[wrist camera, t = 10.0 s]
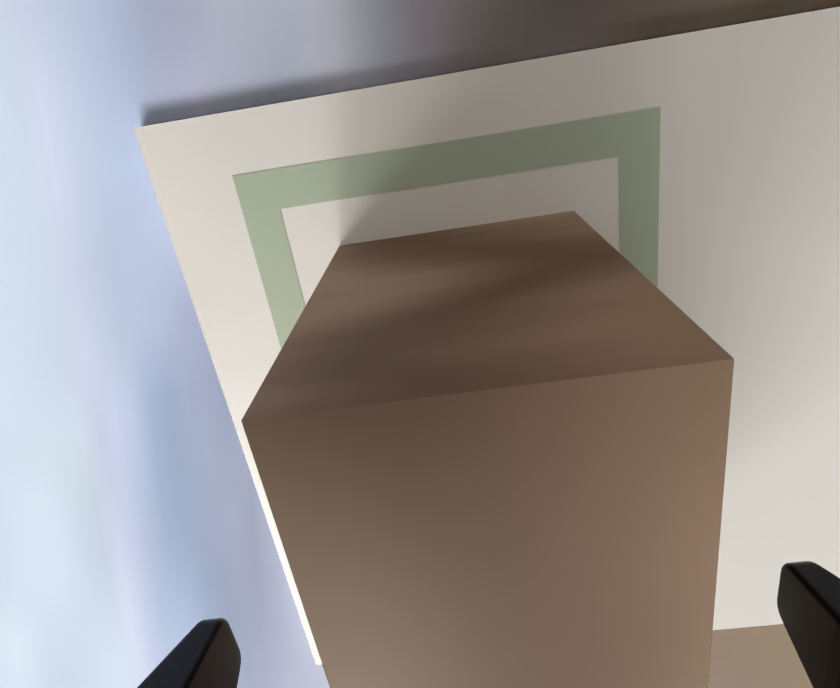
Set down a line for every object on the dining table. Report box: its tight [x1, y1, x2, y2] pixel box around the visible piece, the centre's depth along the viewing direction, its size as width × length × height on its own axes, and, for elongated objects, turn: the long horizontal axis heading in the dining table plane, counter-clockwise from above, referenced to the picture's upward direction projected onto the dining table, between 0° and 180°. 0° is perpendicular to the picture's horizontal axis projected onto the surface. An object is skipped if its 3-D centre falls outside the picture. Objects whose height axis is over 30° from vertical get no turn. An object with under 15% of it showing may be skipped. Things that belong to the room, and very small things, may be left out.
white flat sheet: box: [134, 7, 840, 665], centre depth 14 cm, size 24×16×1 cm, turn 99°
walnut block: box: [241, 211, 734, 688], centre depth 11 cm, size 5×10×7 cm, turn 9°
